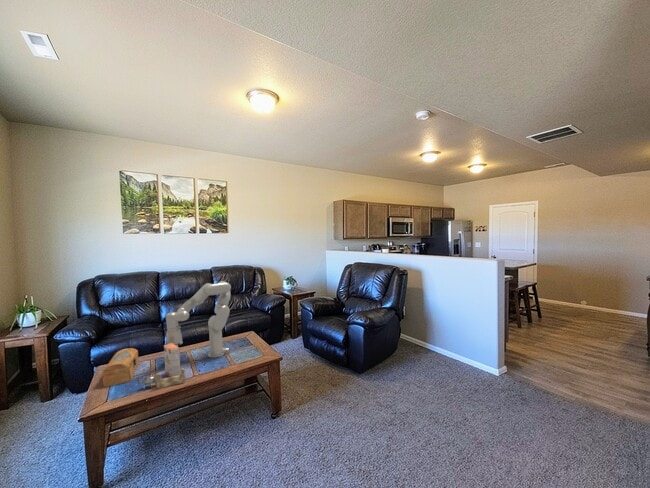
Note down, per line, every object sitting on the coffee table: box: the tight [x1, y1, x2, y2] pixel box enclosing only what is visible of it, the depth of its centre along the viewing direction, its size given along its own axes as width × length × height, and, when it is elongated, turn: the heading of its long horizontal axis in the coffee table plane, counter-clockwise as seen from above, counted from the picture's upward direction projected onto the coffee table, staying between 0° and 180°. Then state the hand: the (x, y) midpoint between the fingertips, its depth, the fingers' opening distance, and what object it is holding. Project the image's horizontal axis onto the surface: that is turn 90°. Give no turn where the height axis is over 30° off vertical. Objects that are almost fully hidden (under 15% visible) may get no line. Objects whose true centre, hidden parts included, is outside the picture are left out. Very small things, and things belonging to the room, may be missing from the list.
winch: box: [136, 373, 158, 390], centre depth 179 cm, size 11×4×8 cm, turn 115°
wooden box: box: [101, 347, 139, 388], centre depth 197 cm, size 30×16×14 cm, turn 24°
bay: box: [156, 367, 186, 390], centre depth 185 cm, size 16×10×9 cm, turn 115°
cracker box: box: [163, 343, 181, 378], centre depth 193 cm, size 14×6×21 cm, turn 47°
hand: (175, 352), depth 209 cm, fingers closed
